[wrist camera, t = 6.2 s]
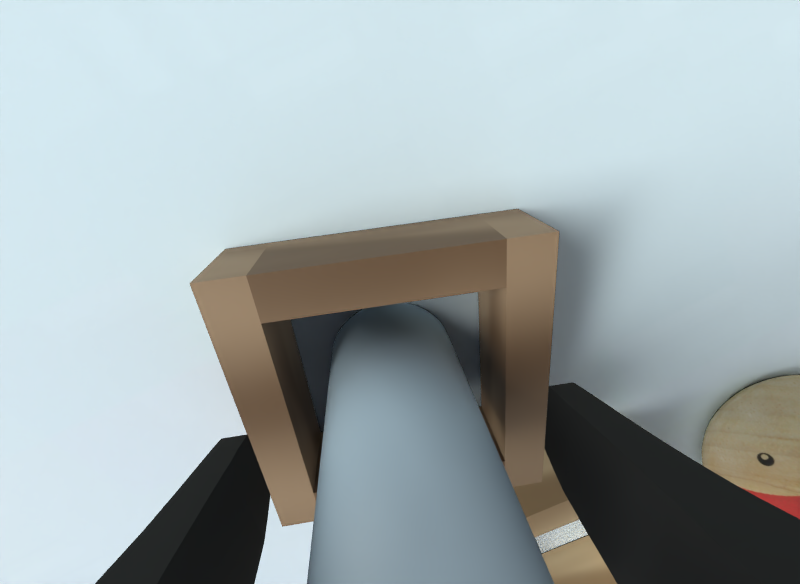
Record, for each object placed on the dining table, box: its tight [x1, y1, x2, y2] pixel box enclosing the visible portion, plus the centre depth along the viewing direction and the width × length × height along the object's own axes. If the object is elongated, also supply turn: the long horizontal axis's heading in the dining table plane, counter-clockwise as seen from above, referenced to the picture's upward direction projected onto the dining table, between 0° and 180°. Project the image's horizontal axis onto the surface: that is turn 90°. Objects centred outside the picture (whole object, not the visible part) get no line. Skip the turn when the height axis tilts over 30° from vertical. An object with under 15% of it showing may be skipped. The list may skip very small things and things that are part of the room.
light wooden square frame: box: [513, 445, 617, 584], centre depth 16 cm, size 8×8×2 cm
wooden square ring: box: [190, 209, 559, 526], centre depth 11 cm, size 8×8×2 cm
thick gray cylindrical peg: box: [307, 303, 554, 584], centre depth 9 cm, size 4×4×8 cm
